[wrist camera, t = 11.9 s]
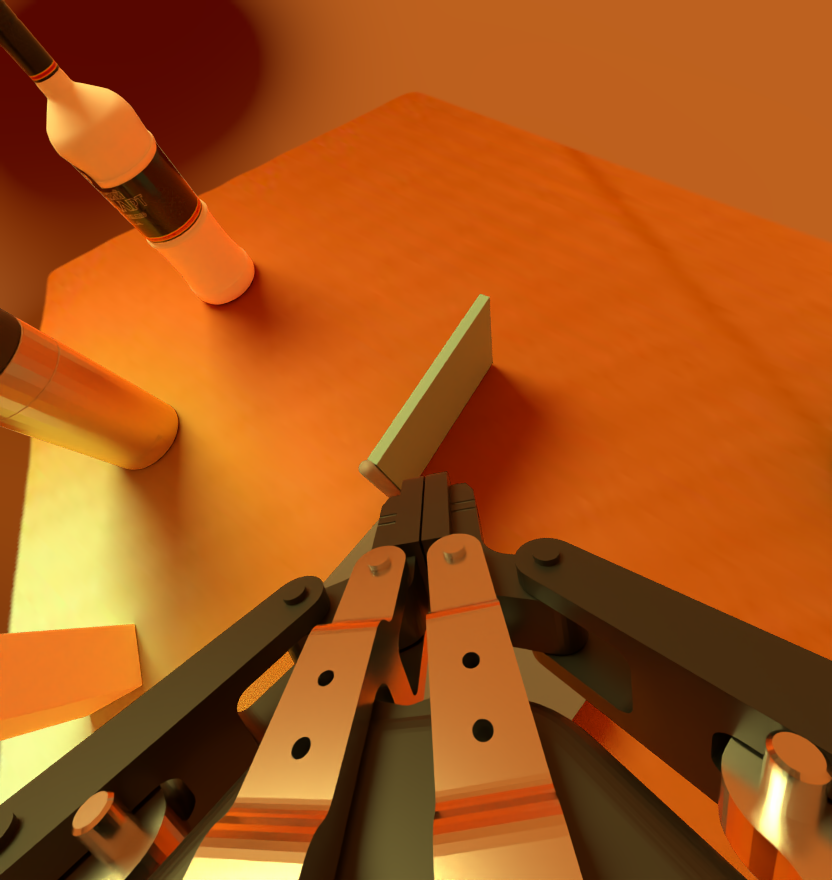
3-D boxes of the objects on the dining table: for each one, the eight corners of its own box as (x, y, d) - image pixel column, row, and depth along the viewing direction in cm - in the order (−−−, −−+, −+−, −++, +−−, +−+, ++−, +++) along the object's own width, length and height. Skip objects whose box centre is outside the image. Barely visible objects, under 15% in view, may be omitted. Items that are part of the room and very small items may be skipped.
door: (402, 507, 38) (368, 478, 28) (392, 501, 38) (355, 470, 29) (493, 364, 41) (491, 295, 32) (484, 360, 42) (478, 291, 32)
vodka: (268, 278, 54) (32, -40, 27) (216, 319, 53) (-82, 32, 26) (240, 248, 58) (9, -57, 31) (191, 286, 57) (-91, 6, 30)
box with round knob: (315, 611, 36) (294, 613, 32) (400, 513, 37) (389, 504, 34) (503, 838, 27) (503, 875, 24) (602, 696, 29) (616, 711, 25)
